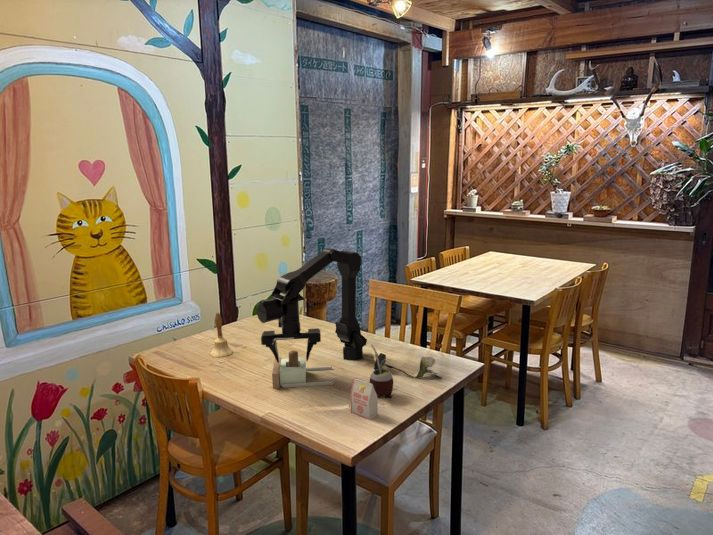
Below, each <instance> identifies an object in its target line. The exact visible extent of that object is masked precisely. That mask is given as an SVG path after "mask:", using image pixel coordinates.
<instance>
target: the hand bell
mask: <svg viewBox="0 0 713 535" xmlns="http://www.w3.org/2000/svg"><path fill="white" fill-rule="evenodd" d="M214 324H215V328H216V330H217V338H216V339H215V340H214V344H213V345H214V346H213V349H212V350H211V351H210V356H211V357H212V356H213V358H225V357H228V356H231V355H232V354H233V353H234V351H233V349H232V348H231V347H230V346H229V344H228V340H227V338H226V337H224V336H223V331H222V327H223V319H222V316H221V313H220V312H216V313H215V316H214Z"/></svg>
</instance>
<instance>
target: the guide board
mask: <svg viewBox="0 0 713 535" xmlns="http://www.w3.org/2000/svg"><path fill="white" fill-rule="evenodd" d="M281 359H282V357H279V363H278V362H277V360H276V358H275V357H274V361H273V362H274V363H273V368H272V372H271V377H272V378H271V379H272V389H280V387H281V386H280V373H279V370H280V364H281ZM328 370H329V371H330V370H331V371H332V370H333V366H331V365H329V366H314V367H311V366H310V367H306V372H311V371H328ZM334 383H335V382H334V380H328V381H327V380H326V381H325V380H324V381H314V382H313V381H311V382H309V381H308V382H306V383H291V384H283V386H282V388H283V389H284V388H285V389H286V388H297V387H299V388H301V387H314V386H315V387H316V386H329V385H331V386H333V385H334Z"/></svg>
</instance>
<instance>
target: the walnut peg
mask: <svg viewBox="0 0 713 535" xmlns="http://www.w3.org/2000/svg"><path fill="white" fill-rule="evenodd" d="M298 358H299V352H298V351H297V350H290V351H289V352H288V359H289V367H298Z"/></svg>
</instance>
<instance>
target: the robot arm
mask: <svg viewBox="0 0 713 535" xmlns="http://www.w3.org/2000/svg"><path fill="white" fill-rule="evenodd" d="M333 262H335V263H336V265H337V266H336V267H337V270H338V271H339V274H340V276H341V318H340V319H339V320H338V321H336V322H335V331H334V332H335V333H336V337H337V338H338V339H339V340H340V343H342V344H344V346H343V347H342V356H343V357H342V358H343V360H345V361H350V362H351V361H360V360H363V359H364V356H363V355H364V354H363V353H364V352H363V347H365V346H367V341H368V339H367V338H366V337H365V336H363V334H362V333H361V332H362V331H361V326H360V323H359V321H358V319H357V316H356V315H357V276H358V274H359V273H360V271H361V269H362V268H361V267H362V266H361V265H362V255H360V254H359V252H355V251H348V250H341V251H340V250H337V249H336V248H330V247H325V248H323V249H322V251H321V252H319V253H318V254H317V255H315V256H314V257H313V258H311V259H310V260H309V261H307V262H306V263H305V264H304V265H302V266H301V267H299V268H298V269H296V270H294V271H290V272H287V273H285V274H283V275H281V276H280V277H278V278H277V280H276V285H275V287H273V291H272V293H271V294H270V296H269V298H268V299H262V300H260V301H259V304H258V306H257V309H256V315H257V318H258V320H259V321H260V323H261V324H265V323H269V322H272V321H277V320H278V321H277V322H278V324H277V325H278V328H281V333H276V332H275V330H264V331H263V332H262V333H261V337H260V342H261V344H260V345H262V346H265V347H266V348H269V350H270V351H271V352H272V354H273V356H274V359H275V358H276V360H277V362H278V363H279V358H280V355H279V350H278V344H277V343H278V342H277V341H281V340H282V341H283V340H285V341H286V340H304V339H306V340H307V342H306V343H307V345H306V354H305V356H306V357H305V359H306V362H308V361H309V358H310V355H311V352H312V349H313V348H314V346H315V345H317V344H318V343H320V342H322V340H321V339H322V338H321V337H322V336H321V334H322V333H321V329H320V328H308V331H307V332H306V331H305V332H301V330H302V329H301V322H300V305H299V304H300V303H299V302H301V301H304V300H305V297H304V296H302V295H301V294H300V293H301V292H302V291H303V290H304V289H305V287H306V285H307V283H308V282H309V281H310V279H312V278H314V276H316V275H317V274H319V273H320V272H321V271H323V270H324V269H325V268H326V267H328V266H329V265H330V264H331V263H333ZM282 294H283V295H282Z"/></svg>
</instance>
